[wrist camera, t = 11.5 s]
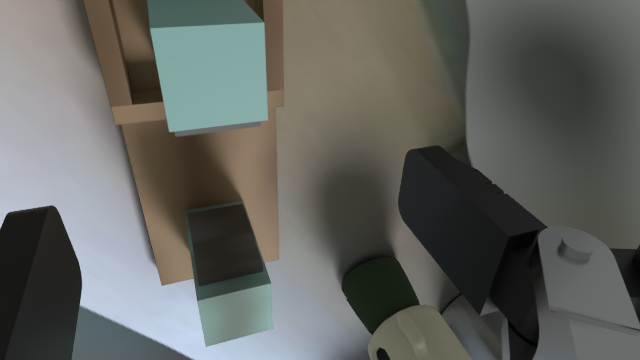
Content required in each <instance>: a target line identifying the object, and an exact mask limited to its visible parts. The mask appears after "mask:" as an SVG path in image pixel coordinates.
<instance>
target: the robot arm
mask: <svg viewBox="0 0 640 360" xmlns="http://www.w3.org/2000/svg"><path fill="white" fill-rule="evenodd" d="M398 206H399V211H400V214H401V217H402V219H403V221H404V222H405V224H406V225H407V226H408V227H409V229H410V230H411V231H412V232H413V234H414V235H415V236H416V237H417V239H418V240H419V241H420V242H421V243H422V245H423V246H424V247H425V248H426V250H427V251H428V252H429V253H430V255H431V256H432V257H433V258H434V260H435V261H436V262H437V263H438V265H439V266H440V267H441V268H442V270H443V271H444V272H445V273H446V275H447V276H448V277H449V278H450V280H451V281H452V282H453V283H454V285H455V286H456V287H457V288H458V290H459V291H460V292H461V293H462V295H461V296H459V297H458V298H456V299H455V300H454V301H453V302H452V303H451V304H450V305H449V306H448V307H447V308H446V309H445V311H444V312H443V314H442V315H441V316H442V317H443V319H444V320H445V322H446V323H447V324H448V326H449V327H450V329H451V330H452V331H453V333H454V334H455V336H456V337H457V338H458V340H459V341H460V343H461V344H462V345H463V347H464V348H465V350H466V351H467V353H468V354H469V355H470V357H471V358H472V360H640V245H639V247H638V248H637V249H609V248H608V247H607V246H606V245H605V244H603V243H602V242H601V241H600V240H598V239H596V238H595V237H593V236H591V235H589V234H587V233H585V232H582V231H579V230H576V229H573V228H568V227H550V228H548V227H547V226H545V225H544V224H543V223H542V222H540V221H539V220H538V219H537V218H536V217H534V216H533V215H532V214H531V213H530V212H528V211H527V210H526V209H524V208H523V207H522V206H521V205H520V204H519V203H517V202H516V201H515V200H514V199H513V198H511V197H510V196H509V195H508V194H504V193H503V190H501V189H500V188H499V187H498V186H497V185H495V184H492V182H491V180H489V179H488V178H487V177H486V176H484V175H483V174H482V173H481V172H480V171H478V170H477V169H475V168H473V167H470V166H468V165H466V164H464V163H462V162H460V161H457V160H456V159H455V158H454V157H453V156H451V155H450V154H449V153H448V152H447V151H445V150H444V149H443V148H442V147H440V146H430V147H424V148H418V149H412V150H409V151H408V152H407V154H406V157H405V162H404V168H403V174H402V180H401V186H400V192H399V198H398ZM81 291H82V277H81V270H80V266H79V262H78V259H77V257H76V254H75V252H74V249H73V247H72V244H71V242H70V239H69V237H68V234H67V231H66V229H65V226H64V224H63V221H62V219H61V216H60V214H59V212H58V210H57V209H56V207H54V206H46V207H39V208H33V209H27V210H20V211H14V212H9V213H8V214H7V215H6V217H5V219H4V222H3V224H2V227H1V229H0V360H71V358H72V352H73V345H74V339H75V332H76V325H77V318H78V311H79V305H80V298H81Z"/></svg>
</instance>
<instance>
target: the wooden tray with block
mask: <svg viewBox="0 0 640 360" xmlns="http://www.w3.org/2000/svg"><path fill="white" fill-rule="evenodd" d="M83 1H84V5H85V9H86V13H87V17H88V20H89V24H90V28H91V32H92V36H93V40H94V43H95V47H96V51H97V55H98V59H99V63H100V66H101V70H102V74H103V78H104V82H105V86H106V89H107V93H108V97H109V101H110V105H111V109H112V112H113V116H114V120H115V124H116V125H120V124H121V126H122V130H123V134H124V138H125V142H126V146H127V150H128V154H129V158H130V162H131V166H132V170H133V174H134V178H135V182H136V186H137V190H138V194H139V198H140V201H141V205H142V209H143V213H144V217H145V221H146V225H147V229H148V233H149V237H150V241H151V245H152V249H153V253H154V257H155V261H156V265H157V269H158V273H159V277H160V281H161V285H167V284H171V283H176V282H180V281H185V280H189V279H194V282H195V289H196V296H197V302H198V307H199V313H200V318H201V323H202V328H203V334H204V339H205V344H206V347H207V346H211V345H215V344H218V343H222V342H226V341H229V340H233V339H237V338H240V337H244V336H248V335H251V334H255V333H259V332H262V331H266V330H270V329H273V317H272V292H271V281H270V278H269V276H268V273H267V270H266V267H265V264H264V263H266V262H270V261H274V260H279V233H278V191H277V149H276V107H281V106H284V71H283V0H244V1H245V2H246V3H247V5H248V6H249V7H250V8H251V9H252V10H253V11H254V12H255V13H256V14H257V15H258V16H259V17H260V18H261V19H262V21H263V22H264V27H265V54H266V81H267V108H268V120H266V121H261V126H259V127H251V128H243V129H235V130H227V131H219V132H211V133H203V134H195V135H187V136H179V137H176V136H175V132H169V128H168V123H167V117H166V112H165V107H164V101H163V96H162V90H161V85H160V80H159V74H158V69H157V64H156V58H155V53H154V47H153V42H152V37H151V31H150V23H149V13H148V2H147V0H83Z"/></svg>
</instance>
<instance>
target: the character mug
mask: <svg viewBox="0 0 640 360" xmlns="http://www.w3.org/2000/svg"><path fill="white" fill-rule="evenodd" d="M342 291H343V293H344V294H345V296H346V297H347V301H348V302H349V304H350V306H351V307H352V309H353V310H354V312H355V313H356V315H357V316H358V317H359V319H360V320H361V322H362V323H363V324H364V326H365V327H366V328H367V330H368V331H369V332H370V333H371V334H372V337H371V339H370V340H369V343H368V347H367V349H368V353H369V357H370V359H371V360H472V358H471V357H470V355H469V354H468V353H467V351H466V350H465V348H464V347H463V345H462V344H461V343H460V341H459V340H458V338H457V337H456V336H455V334H454V333H453V331H452V330H451V329H450V327H449V326H448V324H447V323H446V322H445V320H444V319H443V317H442V316H441V314H440V313H439V312H438V311H437V310H436V309H435V308H434V307H431V306H428V305H420V304H419V300H418V298H417V296H416V294H415V292H414V290H413V288H412V286H411V284H410V282H409V280H408V278H407V276H406V274H405V272H404V270H403V268H402V267H401V265H400V263H399V261H397V260H395V259H393V258H392V257H388V258H378V259H375V260H372V261H369V262H366V263H364V264H362V265H360V266H358V267H356V268H354V269H353V270H352V271H351V272H350V273H349V275H348V276H347V277H346V278H345V280H344V284H343V287H342Z"/></svg>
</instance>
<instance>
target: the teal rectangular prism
mask: <svg viewBox="0 0 640 360" xmlns="http://www.w3.org/2000/svg"><path fill="white" fill-rule="evenodd" d="M147 2H148V13H149V23H150V31H151V37H152V42H153V47H154V53H155V58H156V64H157V69H158V74H159V80H160V85H161V90H162V96H163V101H164V107H165V112H166V117H167V123H168V128H169V132H175V136H176V137H179V136H187V135H195V134H203V133H211V132H219V131H227V130H235V129H243V128H251V127H259V126H261V121H266V120H268V108H267V81H266V54H265V27H264V22H263V21H262V19H261V18H260V17H259V16H258V15H257V14H256V13H255V12H254V11H253V10H252V9H251V8H250V7H249V6H248V5H247V3H246V2H245V1H244V0H147Z"/></svg>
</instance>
